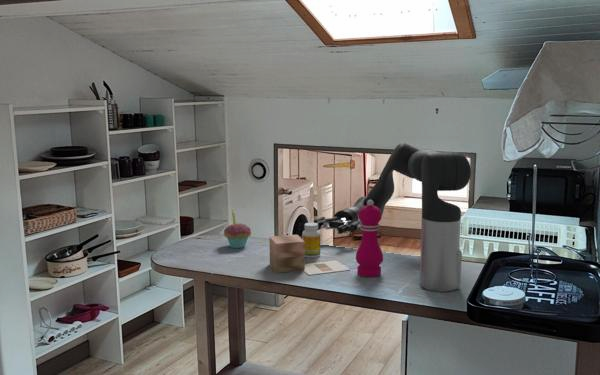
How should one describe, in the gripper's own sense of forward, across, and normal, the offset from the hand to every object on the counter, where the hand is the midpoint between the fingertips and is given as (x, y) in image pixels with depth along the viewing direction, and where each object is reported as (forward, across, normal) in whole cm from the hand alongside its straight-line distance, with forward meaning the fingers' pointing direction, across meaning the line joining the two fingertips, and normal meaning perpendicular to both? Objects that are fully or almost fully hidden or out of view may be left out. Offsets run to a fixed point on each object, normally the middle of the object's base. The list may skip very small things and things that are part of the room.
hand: (326, 229), depth 173 cm
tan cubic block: (+23, -1, +6) cm, 24 cm away
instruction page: (+19, +8, +6) cm, 21 cm away
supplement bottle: (+10, 0, +6) cm, 12 cm away
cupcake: (+12, -26, +6) cm, 29 cm away
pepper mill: (+17, +21, +6) cm, 28 cm away
